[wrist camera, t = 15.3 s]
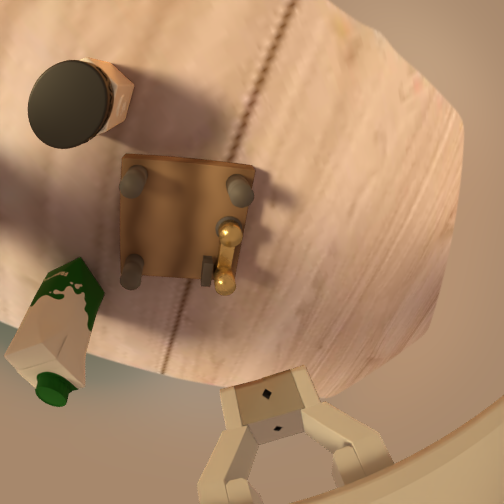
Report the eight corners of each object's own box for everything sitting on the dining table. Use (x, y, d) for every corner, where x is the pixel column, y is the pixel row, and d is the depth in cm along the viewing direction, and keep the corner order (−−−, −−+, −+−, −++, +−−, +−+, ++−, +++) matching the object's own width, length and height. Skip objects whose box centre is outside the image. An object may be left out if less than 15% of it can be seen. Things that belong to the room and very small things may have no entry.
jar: (122, 137, 34) (96, 160, 24) (64, 127, 32) (20, 147, 22) (142, 68, 31) (121, 61, 20) (81, 58, 28) (39, 52, 18)
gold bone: (219, 218, 39) (223, 233, 36) (241, 220, 40) (247, 235, 37) (210, 276, 43) (213, 295, 40) (230, 278, 44) (234, 296, 41)
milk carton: (72, 311, 45) (41, 412, 28) (40, 269, 41) (-10, 366, 24) (112, 295, 45) (90, 403, 28) (82, 248, 40) (35, 351, 24)
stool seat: (123, 263, 43) (115, 293, 37) (125, 153, 36) (113, 168, 30) (231, 270, 47) (239, 300, 41) (251, 165, 40) (263, 181, 34)
